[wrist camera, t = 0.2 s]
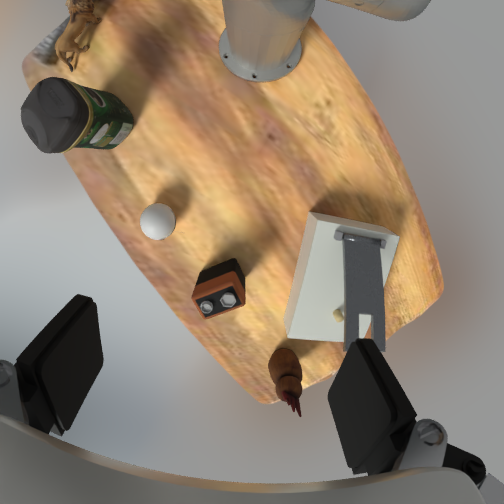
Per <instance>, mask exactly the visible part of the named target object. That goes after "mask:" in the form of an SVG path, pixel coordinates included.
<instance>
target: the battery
mask: <svg viewBox="0 0 504 504" xmlns="http://www.w3.org/2000/svg"><path fill="white" fill-rule="evenodd" d="M192 300H193V302H194V304H195V305H196V307H197V309H198V311H199V312H200V314H201V316H202V317H203V319H209V318H212V317H214V316H217V315H220V314H223V313H225V312H228V311H231V310H234V309H236V308H239V307H242V306H244V305H245V276H244V274H243V272H242V270H241V268H240V266H239V264H238V262H237V260H236V259H235V258H233V259H230V260H228V261H225V262H223V263H221V264H218V265H216V266H213V267H211V268H208V269H206V270H204V271H201V272H200V274H199V277H198V280H197V282H196V285H195V288H194V291H193V294H192Z"/></svg>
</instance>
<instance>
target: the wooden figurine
mask: <svg viewBox="0 0 504 504" xmlns="http://www.w3.org/2000/svg"><path fill="white" fill-rule="evenodd" d="M268 368H269V372H270V376H271V378H272V380H273V382H274V383H275V385H276V393H277V396H278V398H279V399H281V400H282V401H285V402H287V403H288V405H291V407H292V410H293V412H295V408H296V410H297V412H298V414H299V416H300V417H301V410H300V403H299V397H300V396H301V394H302V385H301V381H302V369H301V365H300V363H299V360H298V358H297V357H296V355H295V354H294V353H293V352H292V351H291V350H289V349H279V350H277V351H275V352H274V353H273V354H272V356H271V358H270V360H269V363H268Z"/></svg>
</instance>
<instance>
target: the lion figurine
mask: <svg viewBox="0 0 504 504" xmlns="http://www.w3.org/2000/svg"><path fill="white" fill-rule="evenodd" d="M65 5H66V6H68V10H69V13H70V21H69V23H68V25H67V27H66V29H65V31H64V33H63V34H62V35H61V36H60V37H59V39H58V40H57V42H56V45H55V50H56V53H57V55H58V57H59V58H60V59H61V60H62V61H63V62H64V63H66V64H67V65H68V66H69V68H70V70H71V72H73V66H72V65H71V64H70V62H71V60H72V59H71V57H69V58H66V52H72V51H74V52H76V53H77V54H79V53H82V52H86V51H87V50H88V49H89V46H84V47H83V49H80V48H79V47H78V44H77V43H76V42H74V39H76V38H77V37H78V36H79V35H80V34H81V33H82V31H83V30H84V28H85V26H88V25H89V23H90V21H92V22H93V23H94V24H95V23H99V22H101V20H102V19H101V18H96V17H95V15H94V14H92V13H93V10H94V6H93V5H94V3H93V2H92V0H67V1H66V4H65Z"/></svg>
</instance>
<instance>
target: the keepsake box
mask: <svg viewBox="0 0 504 504" xmlns="http://www.w3.org/2000/svg"><path fill="white" fill-rule="evenodd" d="M343 232H345V233H350V234H356V235H361V236H366V237H371V238H376V239H380V253H381V263H382V274H383V288H384V285H385V282H386V279H387V276H388V273H389V270H390V267H391V264H392V261H393V258H394V255H395V251H396V248H397V245H398V241H399V238H400V236H398V235H396V234H395V233H393V232H392V231H390V230H388V229H387V228H385V227H383V226H379V225H374V224H370V223H365V222H360V221H355V220H351V219H346V218H341V217H336V216H331V215H325V214H320V213H315V212H310V211H309V212H308V217H307V222H306V226H305V231H304V235H303V240H302V244H301V249H300V253H299V257H298V262H297V266H296V270H295V274H294V278H293V282H292V287H291V291H290V295H289V299H288V303H287V307H286V310H285V314H284V318H283V319H284V324H285V328H286V333H287V337H288V338H294V339H306V340H320V341H337V342H344V269H343V245H342V236H343ZM370 322H371V315H364V314H359V338H364V337H365V334H366V332H367V330H368V327H369V325H370Z"/></svg>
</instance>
